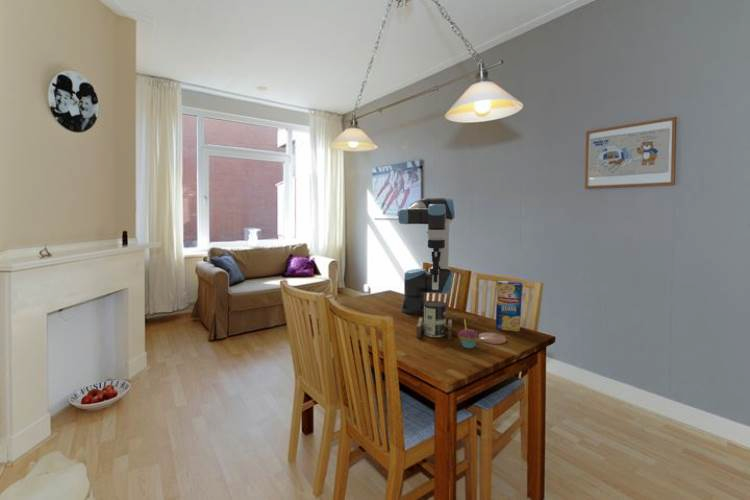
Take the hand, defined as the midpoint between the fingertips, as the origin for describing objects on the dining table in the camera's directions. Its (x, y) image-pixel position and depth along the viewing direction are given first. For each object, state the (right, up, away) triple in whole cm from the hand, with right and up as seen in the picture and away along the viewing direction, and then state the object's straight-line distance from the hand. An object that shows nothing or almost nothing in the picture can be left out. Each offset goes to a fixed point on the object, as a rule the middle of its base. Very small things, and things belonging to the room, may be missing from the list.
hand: (435, 286), depth 163 cm
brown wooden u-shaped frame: (0, -22, +3) cm, 22 cm away
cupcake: (+12, -24, -12) cm, 29 cm away
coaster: (+24, -23, -4) cm, 33 cm away
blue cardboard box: (+36, -22, +11) cm, 44 cm away
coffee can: (0, -22, +3) cm, 23 cm away
